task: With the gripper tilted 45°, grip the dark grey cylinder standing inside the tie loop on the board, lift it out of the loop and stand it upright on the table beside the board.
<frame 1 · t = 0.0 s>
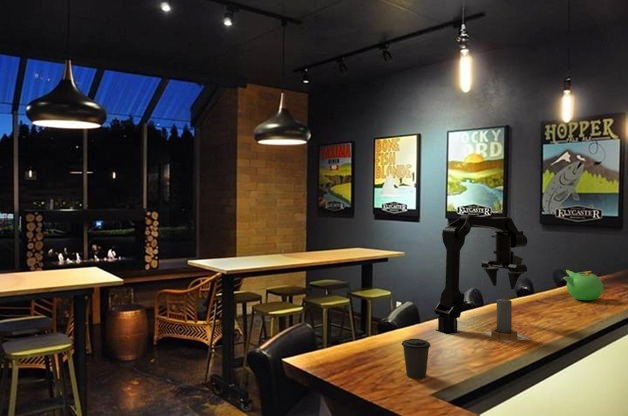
hand: (503, 287, 192), 15 cm above the bar counter, tool pointing down, fingers open, 9 cm apart
dark grey cylinder: (504, 336, 172), resting on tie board
coffee cup: (416, 376, 135), on the bar counter
toy bird: (583, 300, 238), on the bar counter
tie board: (505, 337, 174), on the bar counter
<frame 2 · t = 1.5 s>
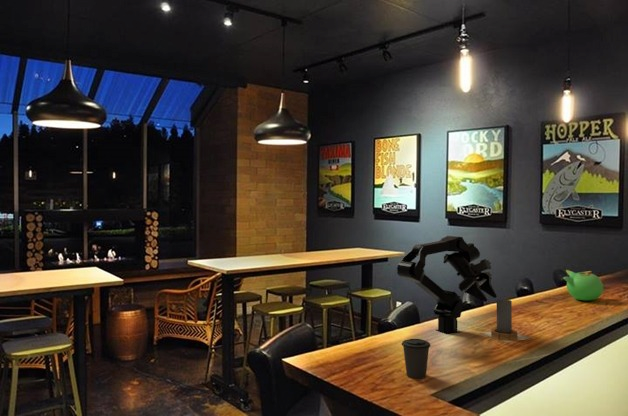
hand: (491, 299, 175), 13 cm above the bar counter, tool tilted 45°, fingers open, 9 cm apart
nothing on the bar counter moved.
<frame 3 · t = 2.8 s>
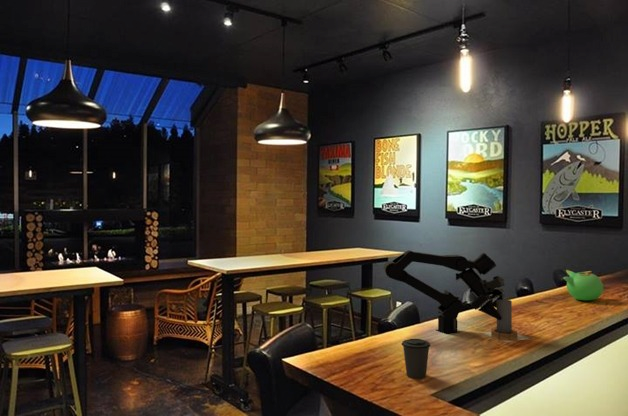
hand: (505, 316, 172), 8 cm above the bar counter, tool tilted 45°, fingers open, 9 cm apart
nothing on the bar counter moved.
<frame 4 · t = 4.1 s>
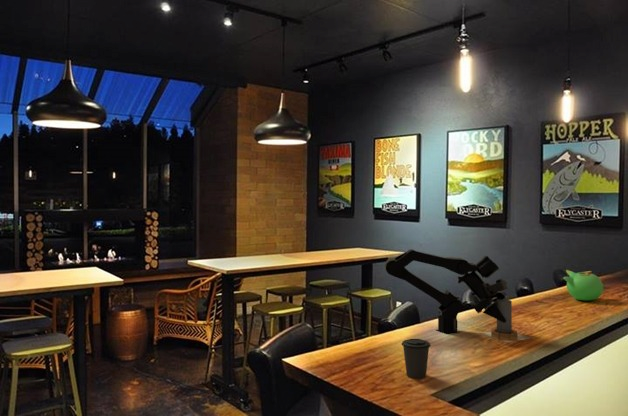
hand: (508, 320, 171), 7 cm above the bar counter, tool tilted 45°, fingers closed on dark grey cylinder, 5 cm apart
dark grey cylinder: (504, 336, 172), point 1 cm above the bar counter, touching gripper, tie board
everything else where it was.
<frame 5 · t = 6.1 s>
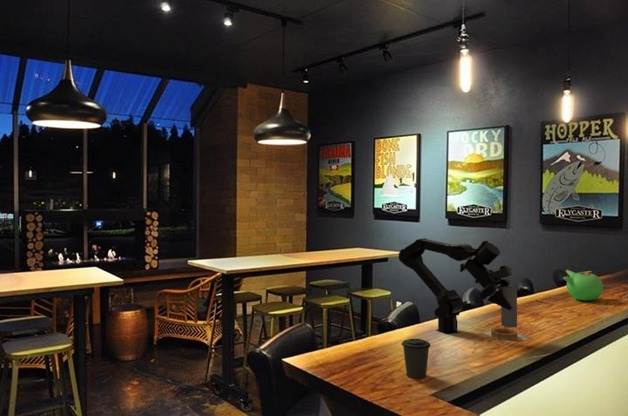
hand: (513, 308, 163), 13 cm above the bar counter, tool tilted 45°, fingers closed on dark grey cylinder, 5 cm apart
dark grey cylinder: (509, 325, 164), point 7 cm above the bar counter, touching gripper
everything else where it was.
when the fingers open (7 cm above the bar counter, at t = 8.1 s): dark grey cylinder drops 1 cm, on the bar counter.
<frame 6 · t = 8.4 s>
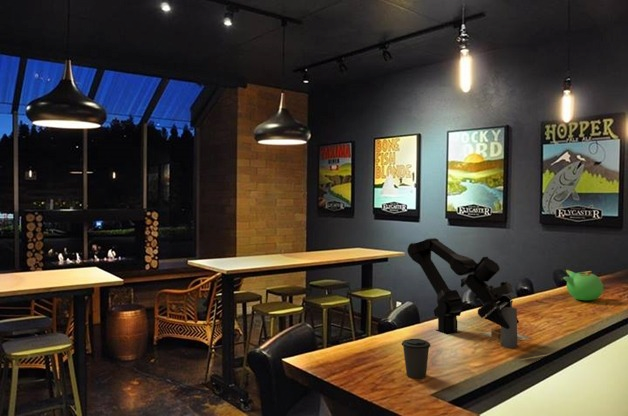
hand: (513, 325, 160), 8 cm above the bar counter, tool tilted 45°, fingers open, 9 cm apart
dark grey cylinder: (509, 347, 161), on the bar counter
everything else where it was.
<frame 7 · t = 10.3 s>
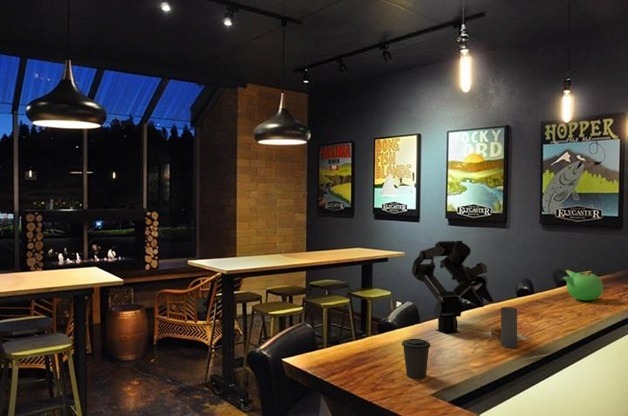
hand: (487, 304, 168), 13 cm above the bar counter, tool tilted 45°, fingers open, 9 cm apart
nothing on the bar counter moved.
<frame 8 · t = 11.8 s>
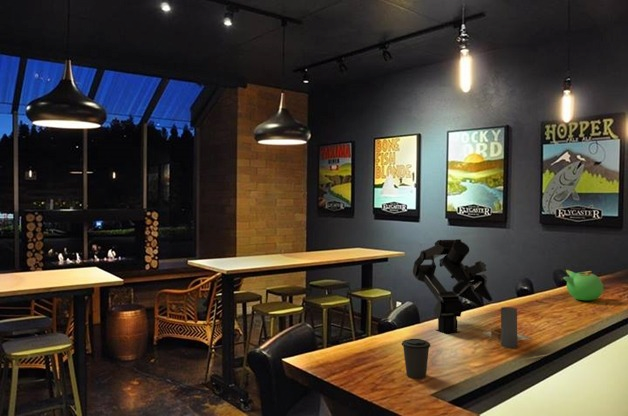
hand: (486, 302, 168), 14 cm above the bar counter, tool tilted 45°, fingers open, 9 cm apart
nothing on the bar counter moved.
at the end: dark grey cylinder inside the target area (0.1 cm from its centre), on the bar counter; dark grey cylinder tilted 1°; the gripper is holding nothing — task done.
